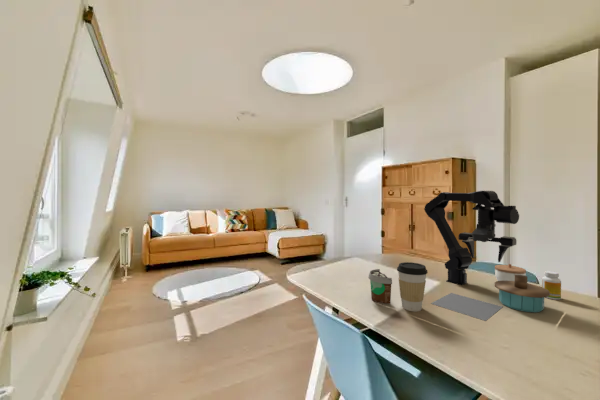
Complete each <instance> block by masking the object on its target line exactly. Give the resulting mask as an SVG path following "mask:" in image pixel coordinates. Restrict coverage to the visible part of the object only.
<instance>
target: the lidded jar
mask: <svg viewBox="0 0 600 400" xmlns="http://www.w3.org/2000/svg"><path fill="white" fill-rule="evenodd" d="M494 273H495V274H494V275H495V278H496V280H497V281H515V275H524V276H527V275H526V274H527V270H526V269H525V268H523V267H519V266H516V265H512V263H508V264H496V265H494Z"/></svg>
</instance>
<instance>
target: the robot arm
mask: <svg viewBox="0 0 600 400" xmlns="http://www.w3.org/2000/svg"><path fill="white" fill-rule="evenodd" d="M450 201H454V202H468V203H469V202H470V203H472V204H475V206H474V207H472V210H473V211H477V223H476V228H475V229H474V230H473V231H472V232H466V231H465V232H461V233H458V240H457V237H456V236H455V234H454V231H453V230H452V228H451V227H450V224H449V222H448V221H447V219H446V211H445V208H447V207H448V204H449V203H450ZM423 210H424V212H425V213H426V215H427V217H428V218H430V219H431V220H432V221H433V222H434V223H435V225H436V227H437V229H438V232H439V233H440V235H441V237H442V240H443V241H444V243H445V245H446V247H447V249H448V258H449V260H447V261H446V262H445V263H444V267H445V269H447V279H446V280H445V281H446V282H447V283H450V284H451V283H452V284H455V285H460V286H463V285H465V284H467V283H468V281H467V280H468V273H466V270H468V269H469V267H470V265H472V262H473V259H474V258H475V242H482V243H487V242H494V243H499V244H500V245H498V257H497V262H498V263H501V261H502V259H503V257H504V255H505V253H506V252H507V250H508V248H512V247H514V246H517V238H516V237H515V236H506V235H504V236H500V237H496V229H495V228H496V226H497V225H496V223H499V224H510V225H515V224H517V223H519V220H520V214H519V211H518V209H517V207H516V205H504V203H503V202H502V201H501V199H500V198H499V196H498V193H497V192H496V191H494V190H477V191H473V192H449V191H448V192H447V191H442V192H440V193H439V194H438V195H437V196H435V197H433V198H432V199H431V200H430V201H429V202H427V203H426V204H425V205H424V208H423ZM459 241H461V242H462V243H464V244H465V245H466V246H467V247H463V246H461V245H460V242H459Z"/></svg>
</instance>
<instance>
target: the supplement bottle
mask: <svg viewBox="0 0 600 400" xmlns="http://www.w3.org/2000/svg"><path fill="white" fill-rule="evenodd" d="M559 276H560V274H559V272H557V271H552V270H545V271H544V276H542V278H541V287H542V288H545V289H547V290H548V291H549V292H550V295H549V296H548V297H545V299H550V300H556V301H558V300H562V280H561V278H559Z"/></svg>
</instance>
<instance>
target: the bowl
mask: <svg viewBox="0 0 600 400" xmlns="http://www.w3.org/2000/svg"><path fill="white" fill-rule="evenodd" d="M498 291H499V292H498V301H500V303H501V304H502V305H504V306H505V307H507V308H510V309H513V310H516V311H521V312H525V313H526V312H527V313H540V312H542V311H543V310H544V309H545V297H543V298H536V297H526V296H520V295H515V294H511V293H508V292H505V291H502V290H500V289H498Z"/></svg>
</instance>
